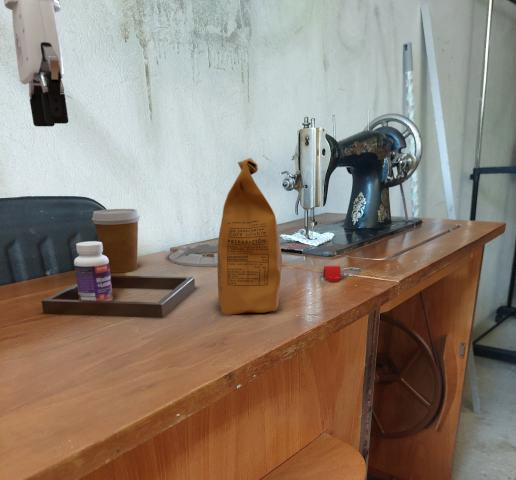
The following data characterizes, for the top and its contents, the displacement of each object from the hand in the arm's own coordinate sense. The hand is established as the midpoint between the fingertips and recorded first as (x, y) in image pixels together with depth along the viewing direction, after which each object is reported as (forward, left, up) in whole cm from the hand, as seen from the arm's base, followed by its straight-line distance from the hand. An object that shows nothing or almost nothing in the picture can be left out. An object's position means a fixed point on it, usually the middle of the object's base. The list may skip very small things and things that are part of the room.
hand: (50, 124), depth 81 cm
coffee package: (+32, -4, -28) cm, 42 cm away
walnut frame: (+11, -4, -27) cm, 30 cm away
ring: (+16, +34, -28) cm, 47 cm away
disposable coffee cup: (0, +20, -28) cm, 34 cm away
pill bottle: (+6, -4, -28) cm, 29 cm away
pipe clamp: (+44, +17, -28) cm, 55 cm away
